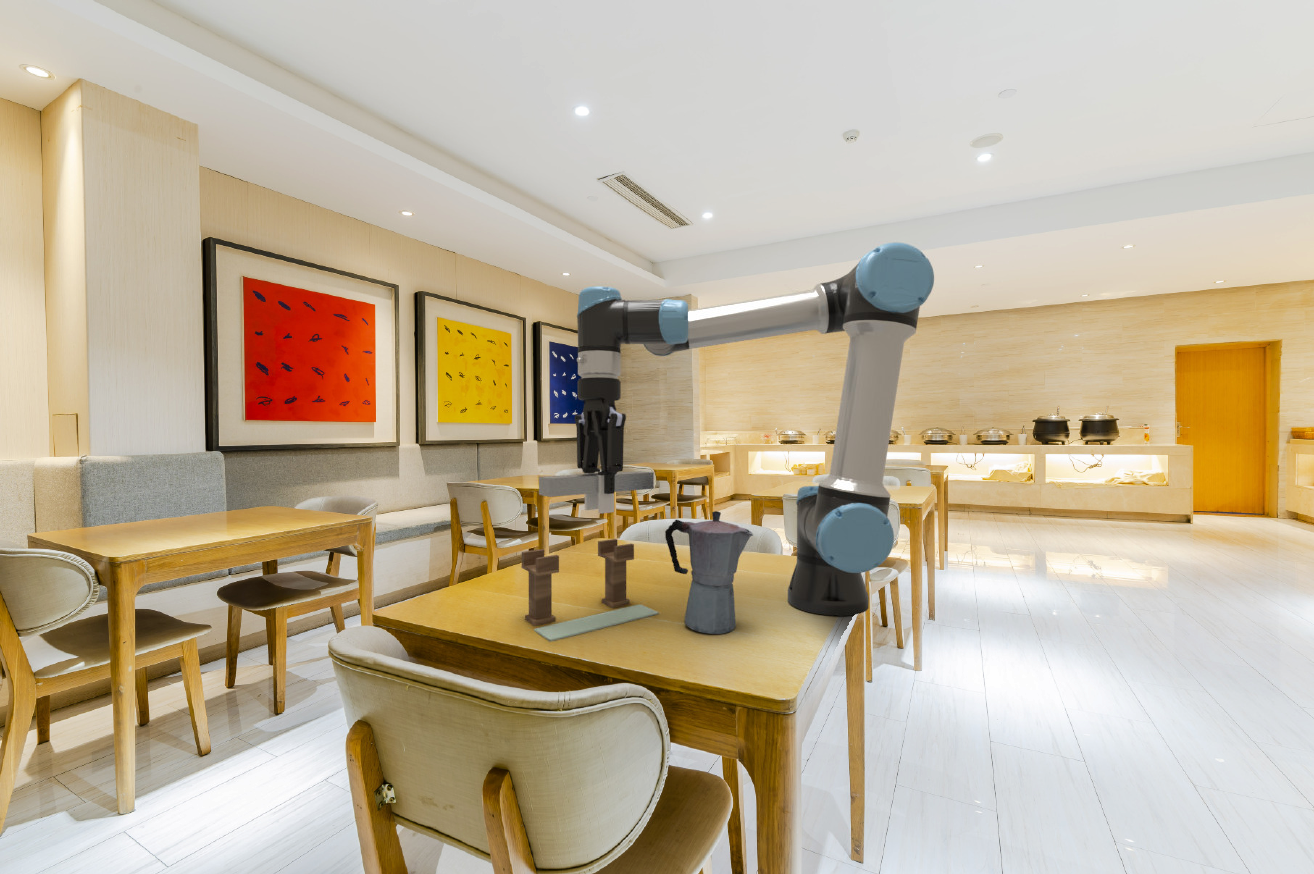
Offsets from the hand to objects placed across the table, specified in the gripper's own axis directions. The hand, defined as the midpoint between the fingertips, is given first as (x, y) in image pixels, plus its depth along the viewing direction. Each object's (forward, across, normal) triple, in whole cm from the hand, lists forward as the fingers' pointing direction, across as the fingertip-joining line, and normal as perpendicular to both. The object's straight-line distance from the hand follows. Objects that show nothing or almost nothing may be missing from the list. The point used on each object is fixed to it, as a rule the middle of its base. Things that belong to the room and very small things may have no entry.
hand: (599, 510), depth 97 cm
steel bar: (-3, 0, 0) cm, 3 cm away
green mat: (+20, 0, 0) cm, 20 cm away
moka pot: (+20, +13, +14) cm, 28 cm away
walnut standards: (+20, -7, 0) cm, 21 cm away
